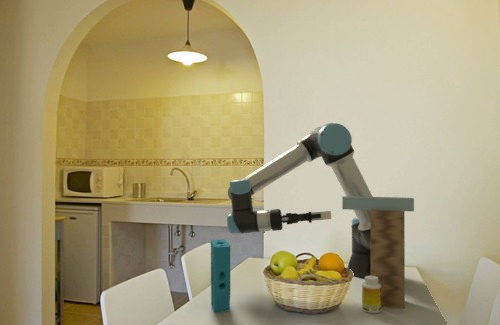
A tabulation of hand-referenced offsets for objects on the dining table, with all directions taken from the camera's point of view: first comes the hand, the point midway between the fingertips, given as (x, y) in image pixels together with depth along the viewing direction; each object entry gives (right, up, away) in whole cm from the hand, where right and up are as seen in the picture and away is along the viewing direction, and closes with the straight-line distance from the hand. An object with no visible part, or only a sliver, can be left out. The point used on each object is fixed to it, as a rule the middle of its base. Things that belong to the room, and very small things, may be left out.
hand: (330, 215), depth 140 cm
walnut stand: (+16, -27, -11) cm, 33 cm away
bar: (+13, +3, -10) cm, 17 cm away
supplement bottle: (+9, -27, -18) cm, 34 cm away
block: (-38, -27, -15) cm, 49 cm away
